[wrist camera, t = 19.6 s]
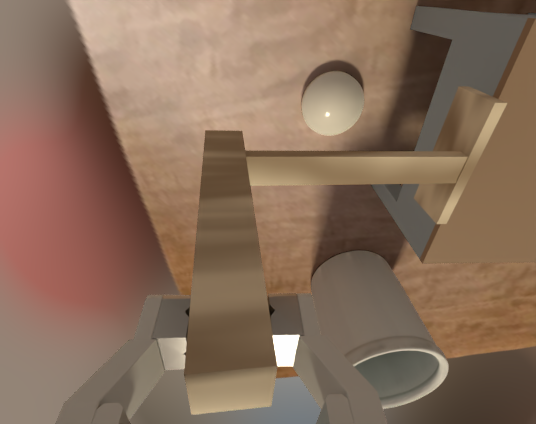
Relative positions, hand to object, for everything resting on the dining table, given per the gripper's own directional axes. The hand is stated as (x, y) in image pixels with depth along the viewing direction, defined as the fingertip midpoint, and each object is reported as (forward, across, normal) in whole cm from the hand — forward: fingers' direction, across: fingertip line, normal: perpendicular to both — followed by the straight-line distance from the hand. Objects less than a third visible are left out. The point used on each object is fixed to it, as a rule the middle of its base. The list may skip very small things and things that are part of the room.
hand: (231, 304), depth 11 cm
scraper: (+14, -7, 0) cm, 15 cm away
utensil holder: (+29, -19, +31) cm, 46 cm away
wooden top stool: (+29, -24, +2) cm, 38 cm away
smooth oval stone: (+29, -11, +2) cm, 31 cm away
